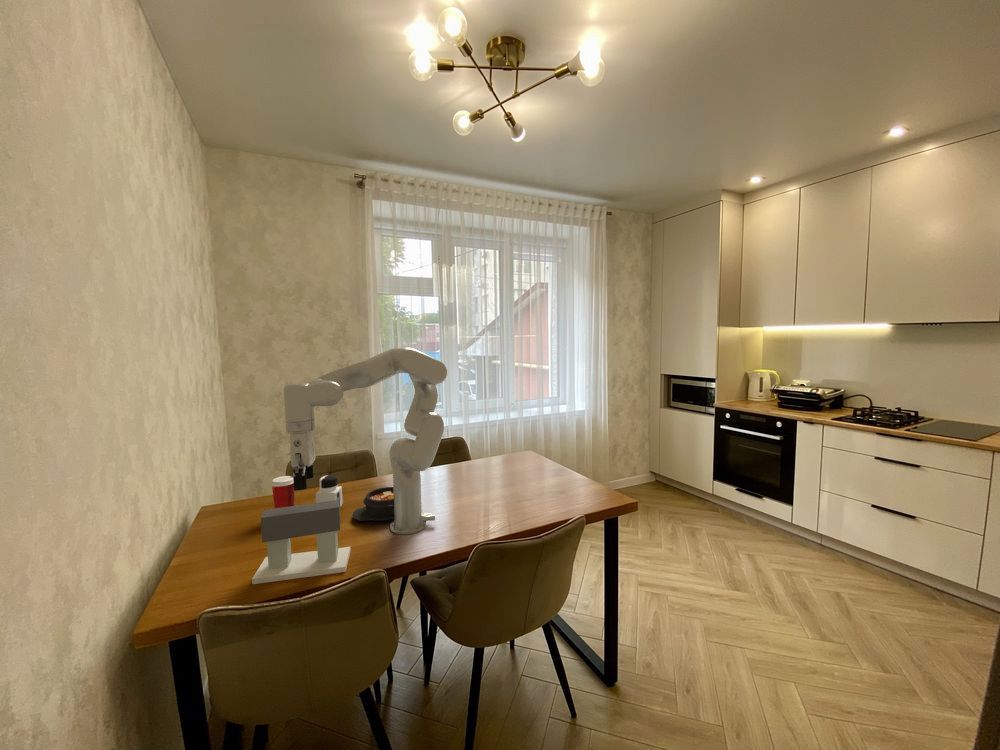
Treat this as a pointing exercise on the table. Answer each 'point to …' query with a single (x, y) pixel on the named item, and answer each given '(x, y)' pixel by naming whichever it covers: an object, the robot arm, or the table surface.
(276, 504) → the coffee cup
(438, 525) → the table surface
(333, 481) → the container
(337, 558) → the stand
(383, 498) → the casserole
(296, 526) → the bar
